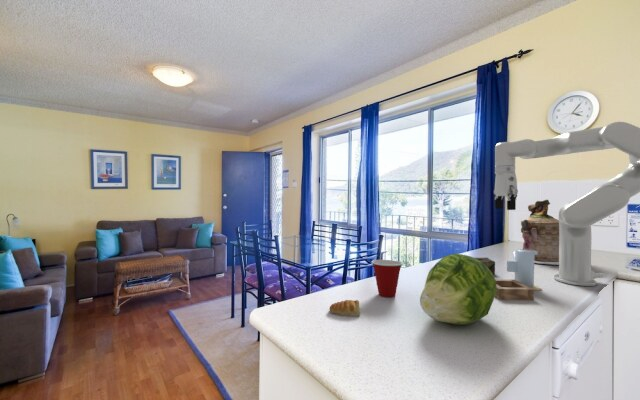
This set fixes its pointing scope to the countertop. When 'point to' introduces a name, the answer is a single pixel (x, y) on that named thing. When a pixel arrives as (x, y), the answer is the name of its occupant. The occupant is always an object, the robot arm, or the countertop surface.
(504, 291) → the cradle
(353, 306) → the pastry
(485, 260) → the beverage carton
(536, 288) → the mat
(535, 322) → the countertop surface
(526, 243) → the cookie jar
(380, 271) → the plastic cup
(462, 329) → the countertop surface
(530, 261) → the pale blue pipe tee
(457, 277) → the lettuce
